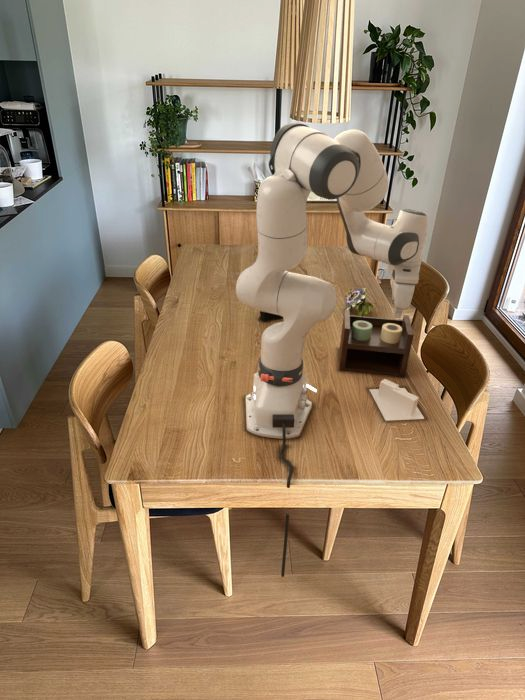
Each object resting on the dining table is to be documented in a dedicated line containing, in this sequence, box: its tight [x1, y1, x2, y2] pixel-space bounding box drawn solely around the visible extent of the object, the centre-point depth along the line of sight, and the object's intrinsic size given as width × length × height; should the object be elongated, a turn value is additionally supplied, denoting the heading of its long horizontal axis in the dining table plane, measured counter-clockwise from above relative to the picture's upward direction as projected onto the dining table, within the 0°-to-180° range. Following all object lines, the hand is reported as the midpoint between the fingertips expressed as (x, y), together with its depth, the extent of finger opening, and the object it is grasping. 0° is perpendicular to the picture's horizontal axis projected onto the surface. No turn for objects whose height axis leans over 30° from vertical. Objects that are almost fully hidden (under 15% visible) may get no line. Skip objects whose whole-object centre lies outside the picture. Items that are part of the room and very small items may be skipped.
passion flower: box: [345, 287, 377, 317], centre depth 192 cm, size 11×11×12 cm
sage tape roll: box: [351, 321, 372, 341], centre depth 155 cm, size 6×6×4 cm
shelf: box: [338, 309, 415, 378], centre depth 158 cm, size 14×20×15 cm
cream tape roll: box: [380, 323, 402, 344], centre depth 154 cm, size 6×6×4 cm
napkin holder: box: [368, 378, 425, 422], centre depth 141 cm, size 15×11×6 cm
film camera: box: [259, 311, 284, 322], centre depth 187 cm, size 15×10×9 cm, turn 115°
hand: (395, 309), depth 150 cm, fingers open, 8 cm apart
